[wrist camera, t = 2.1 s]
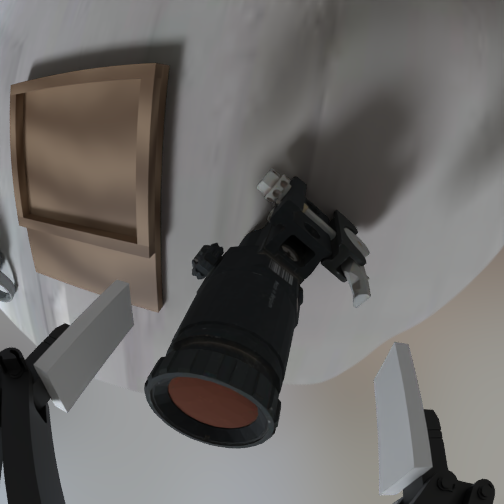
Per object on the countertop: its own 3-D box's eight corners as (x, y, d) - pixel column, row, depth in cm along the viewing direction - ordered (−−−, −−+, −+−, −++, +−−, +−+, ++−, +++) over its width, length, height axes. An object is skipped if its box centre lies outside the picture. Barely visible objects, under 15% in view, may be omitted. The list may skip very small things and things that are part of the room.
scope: (408, 400, 8) (236, 473, 13) (365, 235, 21) (275, 318, 25) (202, 247, 7) (96, 392, 12) (275, 156, 20) (194, 256, 24)
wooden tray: (26, 83, 20) (10, 85, 18) (169, 65, 18) (155, 62, 16) (41, 267, 29) (30, 276, 27) (162, 306, 27) (153, 319, 25)
